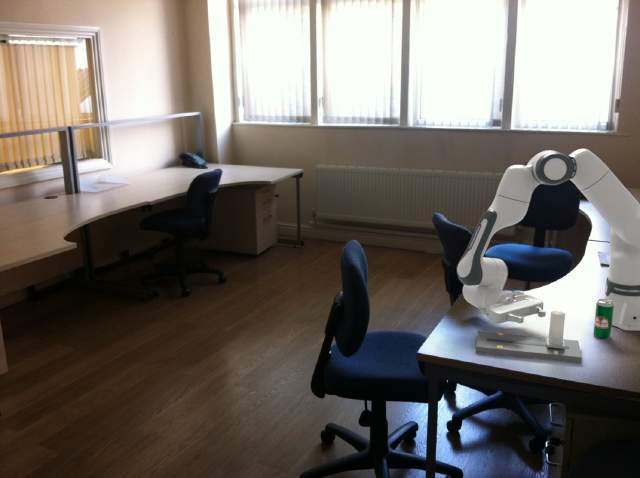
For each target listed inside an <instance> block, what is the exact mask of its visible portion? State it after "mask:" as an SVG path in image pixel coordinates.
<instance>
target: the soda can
mask: <svg viewBox="0 0 640 478" xmlns="http://www.w3.org/2000/svg"><path fill="white" fill-rule="evenodd" d="M613 310H614V304H613V301H611V300H608V299H605V298H600V299H598V300H597V302H596V305H595V315H594V323H593V324H594V325H593V336H594V337H596V338H597V339H600V340H607V339H609V338H611V335H612V327H613V325H612V319H613Z"/></svg>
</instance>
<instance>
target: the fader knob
mask: <svg viewBox="0 0 640 478" xmlns="http://www.w3.org/2000/svg"><path fill="white" fill-rule="evenodd" d="M549 319H550V320H549V330H548V332H549V333H548V337H545V338H546V343H547V347H552V348H562V349H565V344H564V339H565V338H564V333H565V332H564V330H565V320H566V314H565V312H563V311H559V310H554V311H553V310H552V311H551V312H550V318H549Z"/></svg>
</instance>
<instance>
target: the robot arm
mask: <svg viewBox="0 0 640 478" xmlns="http://www.w3.org/2000/svg"><path fill="white" fill-rule="evenodd" d="M569 180H570V181H571V182H572V183H573V184H574V185H575V187H576V188H577V189H578V190H579V191H580V192H581V193H582V195H583V197H585V198H586V199H587V200H588V202H589V203H590V204H591V205H592V207H594V209H595V210H596V211H597V212H598V213H599V215H600V216H601V217H602V218H603V220H604V221H605V222H606V223H607V224H608V225H609V226H610V229H609V231H610V233H609V237H610V238H609V249H610V250H609V251H610V252H609V253H610V254H609V267H608V276H607V277H606V280H605V286H604V287H605V288H604V294H605V295H604V296H605V297H604V299H608V300H611V301H613V304H614V310H613V319H612V327H613V326H614V327H617V328H619V329H621V330H623V331H636V332H639V331H640V203H639V201H638V200H637V199H636V198H635V197H634V196H633V194H631V192H630V191H629V190H628V189H627V188H626V187H625V186H624V184H623V183H622V182H621V180H620V179H618V177H617V176H616V175H615V174H614V173H613V171H612V170H611V169H610V168H609V167H608V166H607V165H606V164H605V162H603V160H601V159H600V157H599V156H597V155H596V154H595V153H593V152H592V151H591V150H590V149H587V148H579V149H576V150H574V151H573V152H571V153H570V154H565V153H562V152H561V151H560V152H559V151H556V150H551V149H549V150H548V149H547V150H542V151H538V152H536V153H535V154H533V155H532V156H531V157H530V158H529V159H528V160H527V161H526V162H525V163H524V164H514V165H510V166H509V167H507V168H506V170H505V172H504V174H503V176H502V177H501V180H500V182H499V184H498V187H497V190H496V194H495V197H494V199H493V201H492V203H491V205H490V206H489V207H488V209H487V210H486V211H484V212H483V213H482V214H481V216H480V218H479V220H478V222H477V224H476V226H475V228H474V231H473V234H472V236H471V238H470V241H469V243H468V245H467V248H466V250H465V251H464V253H463V254H462V256H461V258H460V259H459V261H458V263H457V265H456V275H457V277H458V279H459V281H460V283H462V284H463V286H462V295H463V298H464V299H465V300H466V302H467V303H469V304H471V305H472V306H473V307H476V308H477V309H479V311H480V313H481V314H483V315H485V317H486V318H487V319H488V320H490V321H492V322H493V323H494V324H503V323H507V322H511V323H517V324H523V323H524V322H525V321H524V318H525V317H529V316H532V315H537V317H540V318H545V317H546V314H547V313H546V311H545V310H544V302H543V300H541V299H539V298H537V297H535V296H532V295H530V294H527V293H526V294H525V292H524V291H522V290H508V289H507V290H504V288H505V285H506V282H507V280H508V276H509V270H508V265H507V263H506V262H505V261H504V260H503V259H500V258H497V257H496V258H495V257H494V258H493V257H484V255H485V253H486V250H487V248H488V246H489V244H490V241H491V239H492V238H493V236H494V234H496V233H497V232H498V231H500V230H502V229H504V228H506V227H511V226H513V225H516V224H519V222H521V221H522V220H523V219H524V217H525V216H526V214H527V212H528V209H529V206H530V202H531V199H532V195H533V192H534V191H535V189H536V188H537V187H538V186H539V185H547V186H557V185H560V184H562V183H565V182H566V181H569Z"/></svg>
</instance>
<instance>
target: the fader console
mask: <svg viewBox="0 0 640 478" xmlns="http://www.w3.org/2000/svg"><path fill="white" fill-rule="evenodd" d="M546 338H547V337H543V336H533V335H525V334H524V335H523V334H515V333H514V334H513V333H504V332H499V331H498V332H492V331H481V330H478V331H477V336H476V341H475V353H477V354H487V355H497V356H504V357H505V356H506V357H515V358H522V359H523V358H524V359H532V360H534V359H535V360H544V361H552V362H553V361H554V362H561V363H562V362H564V363H570V364H571V363H573V364H580V365H581V364H582V360H583V357H582V351H581V346H580V343H579V342H580V341H579V340H574V339H565V338H563V339H564V344H565V349H562V348H552V347H547V343H546Z"/></svg>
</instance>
